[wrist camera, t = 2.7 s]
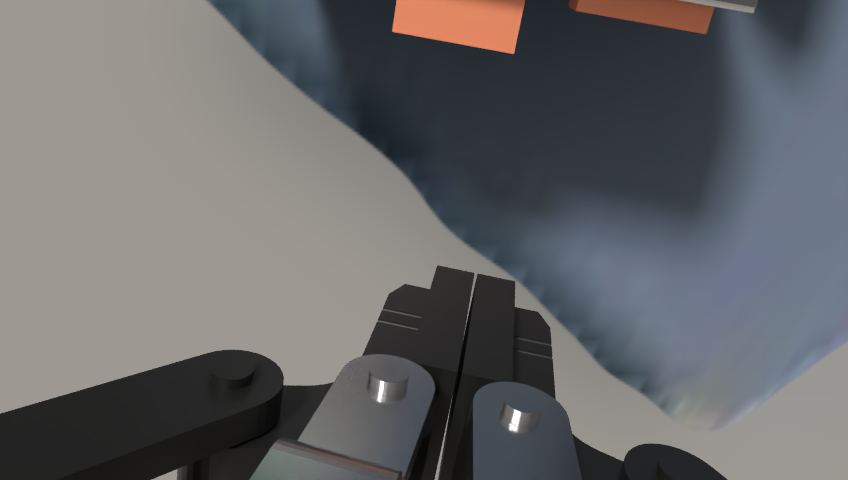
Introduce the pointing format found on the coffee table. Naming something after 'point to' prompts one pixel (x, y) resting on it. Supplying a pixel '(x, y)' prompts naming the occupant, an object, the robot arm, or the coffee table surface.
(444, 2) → the switch
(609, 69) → the coffee table surface
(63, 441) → the robot arm
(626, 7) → the switch
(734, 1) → the dark grey block
